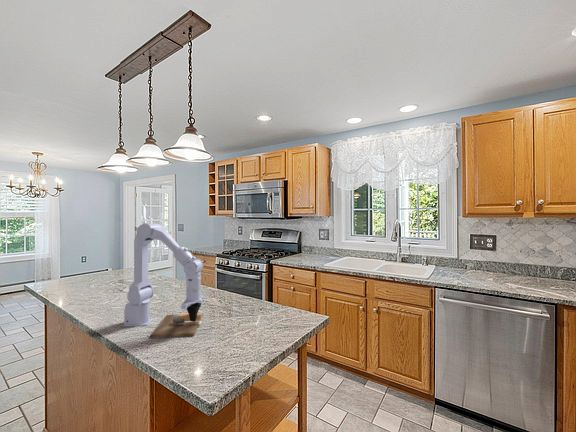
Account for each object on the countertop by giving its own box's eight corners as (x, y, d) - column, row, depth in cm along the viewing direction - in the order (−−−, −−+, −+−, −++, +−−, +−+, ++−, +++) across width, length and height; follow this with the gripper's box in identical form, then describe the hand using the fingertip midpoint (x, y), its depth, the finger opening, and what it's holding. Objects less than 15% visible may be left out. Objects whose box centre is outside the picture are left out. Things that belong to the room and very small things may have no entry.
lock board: (150, 338, 108) (150, 332, 108) (166, 317, 129) (166, 313, 129) (196, 335, 110) (196, 330, 110) (204, 316, 132) (204, 311, 132)
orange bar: (171, 323, 117) (171, 317, 117) (174, 318, 122) (174, 313, 122) (200, 321, 119) (200, 316, 119) (201, 317, 124) (202, 311, 124)
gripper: (193, 293, 111) (192, 328, 110) (210, 285, 125) (209, 315, 125) (176, 292, 112) (176, 326, 112) (195, 284, 126) (195, 314, 126)
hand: (192, 321), depth 118 cm, fingers closed
